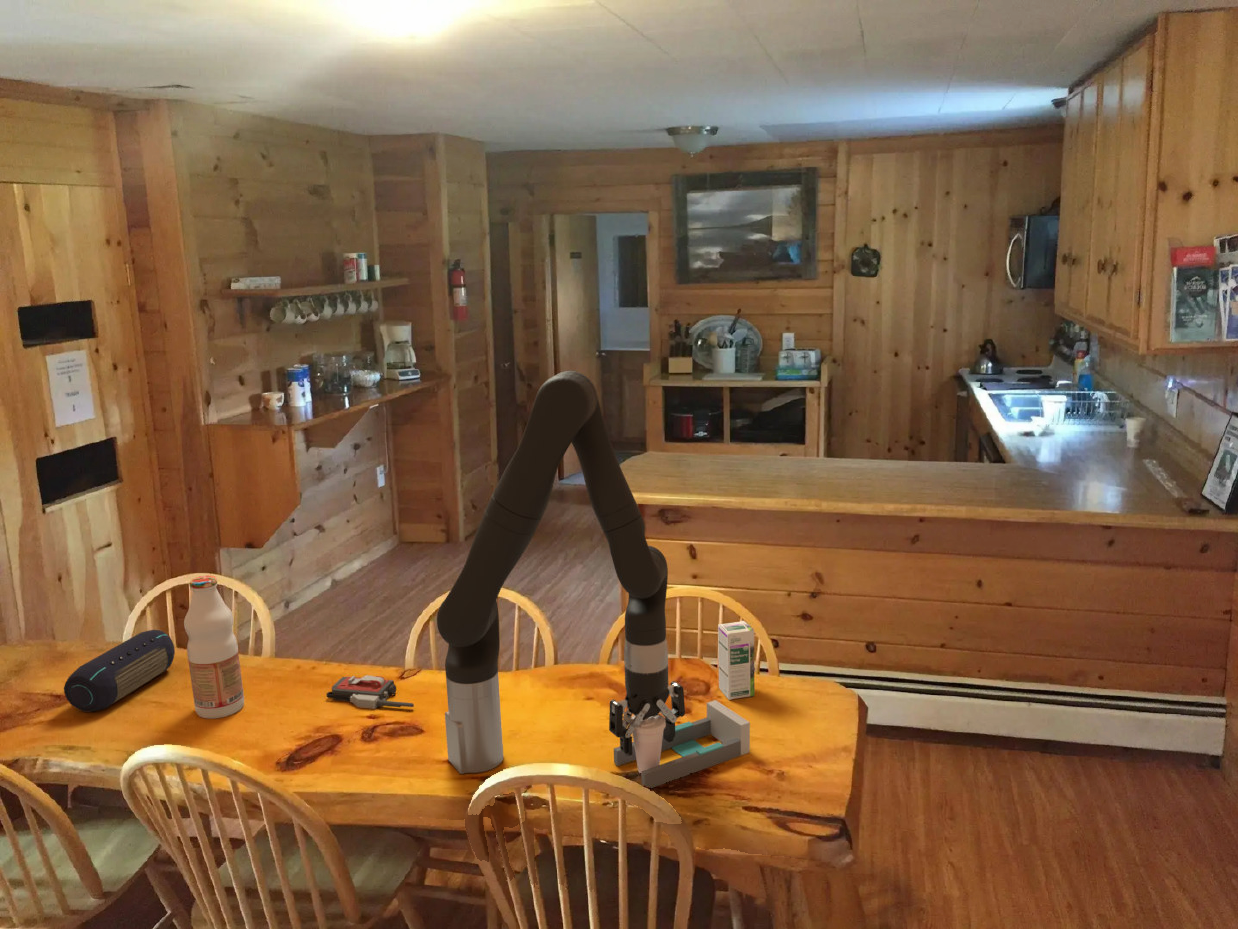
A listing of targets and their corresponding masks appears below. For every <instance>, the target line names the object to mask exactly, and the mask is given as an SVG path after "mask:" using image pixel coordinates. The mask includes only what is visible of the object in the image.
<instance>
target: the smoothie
mask: <svg viewBox="0 0 1238 929" xmlns="http://www.w3.org/2000/svg"><path fill="white" fill-rule="evenodd" d="M634 718H635V715H634V714H632V719H634ZM665 727H666V723H665V717H664V716H663V715H662V714H661V713H658V715H657V716H654V717H649V718H648V719H645V720H641V722H640V724H639V726H638V727H636V728H635V729H634V731H633V733H632V734H631V736H632V742H634V748H635V754H636V760H635V761H636V765H637V771H638V773H639V774H640V773H641V771H644V770H647V769H650V768H653V767H655V766H658V765H661V755H662V751H661V748H662V739H663V730H664V728H665Z"/></svg>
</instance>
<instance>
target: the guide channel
mask: <svg viewBox="0 0 1238 929" xmlns="http://www.w3.org/2000/svg"><path fill="white" fill-rule="evenodd" d="M750 723H751V722H750V721H748V720H747V719H745V718H744V717H742V716H741V715H739V714H738V713H736V712H735V711H733V710H731V709H730V708H729V707H727V706H725V705H723V704H722V703H720V702H719V700H716V699H715V700H711V701H709V702H706V717H704V718H701V719H698V720H695V721H692V722H691V721H687V722H683V723H680V724H678V725H675V737H674V738H673V741H672V742H668V741H666V740H665V739H664V737H663V739H662V748H661V752H664V751H667V750H669V749H672V750H673V751H674V752H676V753H677V754H678V755H679V754H680V755H679V756H681V757H678V758H676V759H672V760H670V761H668V762H664V763H660V765H658V766H655V767H653V768H650V769H647V770H644V771H641V774H640V775H641V778H640V779H641V780H640V782H641V784H642V785H645V786H646V787H649V788H650V787H651V789H653V788H656V787H659V786H661V785H664V784H666V782H667V783H669V781H670V782H672V780H673V781H675V780H678V779H681V778H683V777H686V776H688V775H691V774H690V773H692V774H694V773H697V772H699V771H702V770H705V769H707V768H708V769H709V768H711V767H713V766H716V765H718V764H722V763H725V762H727V761H730V760H732V759H735V758H739V757H740V756H744V755H746V754H749V753H751V752H750V751H751V750H750V748H751V746H750V745H751V744H750V743H751V742H750V739H751V736H750V735H751V734H750V730H751V728H750V727H751V726H750V725H751V724H750ZM710 735H711V736H712V737H714V738H715V739H716V740H718V742H715V743H713V744H710V745H708V746H703V745H702V744H700V743H699V742H697V740H698V739H701V738H704V737H707V736H710ZM719 741H720V742H721V743H720V742H719ZM633 760H635V761H637V760H636V754H635V748H634V741H632V755H631V756H627V755H626V754H625V753H624V752H622V751H621V749H620V746H617V747H613V763H615V764H616V765H617V766H618V767H620V766H619V765H621V766H622V764H623V765H626V764H628V763H627V762H629V763H631V762H630V761H632V762H634V761H633ZM625 763H626V764H625ZM615 764H614V765H615ZM616 765H615V766H616ZM617 766H616V767H617ZM680 777H681V778H680ZM674 779H675V780H674ZM642 785H641V786H642Z"/></svg>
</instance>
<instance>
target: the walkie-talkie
mask: <svg viewBox="0 0 1238 929" xmlns="http://www.w3.org/2000/svg"><path fill="white" fill-rule="evenodd" d="M396 692H397V686H396V684H395V680H392V679H385V678H384V677H383V676H381V675H380V676H378V675H376V676H375V675H364V676H363V677H356V676H355V675H353V676H342V677H341V678H340V679H338V681H337V682H335V683H334V684H333V685H332V687H331V691H328V692H326V695H325V696H326V697H327V699H332V700H333V701H338V702H339V701H340V702H350V703H352V704H353V705H355V707H357V708H365V709H373V710H376V709H377V708H378V707H393V708H401V707H406V708H414V706H415V705H414V703H413V702H405V701H393V700H388V698H389V697H390V696H394V695H395V694H396Z"/></svg>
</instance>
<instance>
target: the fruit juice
mask: <svg viewBox="0 0 1238 929" xmlns="http://www.w3.org/2000/svg"><path fill="white" fill-rule="evenodd" d="M189 586H190V590H192V595H191V599H190V604H189V607H188V611H187V613H186V615H185V617H184V621H183V624H184V626H183V627H184V631H185V633H186V634H187V637H188V642H187V644H186V653H187V661H188V668H189V669H188V670H189V674H190V680H191V688H192V689H191V690H192V696H193V704H194V709H195V713H196V714H197V715H198V716H199V717H200V718H202V719H221V718H225V717H229V716H232V715H233V714H236V713H237V712H239V711H241V709H242V708H243V707H244V706H245V693H244V688H243V687H244V686H243V677H242V670H241V662H240V655H239V647H238V641H237V640H238V639H237V638H236V636H235V634H234V632H233V626H234V616H233V612H232V610H231V608H229V607H228V606H227V605H226V603H225V601H224V599H223V598H222V595H221V594H220V593H219V591H218V589H217V587H218V579H217V577H216V576H214V575H209V574H208V575H201V576H196V577H194V578H192V579H191V580H190V582H189Z"/></svg>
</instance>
